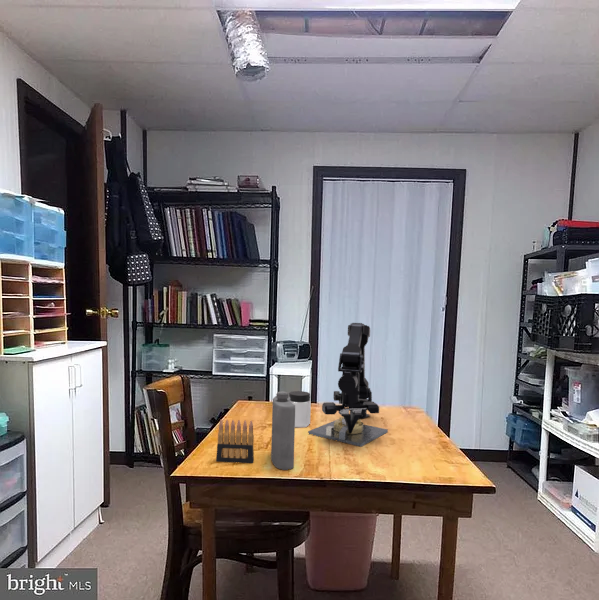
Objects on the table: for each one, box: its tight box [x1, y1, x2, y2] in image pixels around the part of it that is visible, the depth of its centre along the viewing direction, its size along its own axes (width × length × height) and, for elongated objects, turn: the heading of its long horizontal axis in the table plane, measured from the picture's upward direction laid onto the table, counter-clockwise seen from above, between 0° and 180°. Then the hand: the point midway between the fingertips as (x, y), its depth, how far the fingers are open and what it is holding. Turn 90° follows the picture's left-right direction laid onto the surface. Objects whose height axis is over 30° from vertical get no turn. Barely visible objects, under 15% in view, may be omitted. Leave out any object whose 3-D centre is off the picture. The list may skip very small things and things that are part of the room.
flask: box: [270, 390, 296, 471], centre depth 126 cm, size 15×6×20 cm, turn 9°
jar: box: [288, 390, 312, 428], centre depth 164 cm, size 9×8×12 cm
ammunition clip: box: [215, 419, 255, 464], centre depth 124 cm, size 11×2×12 cm, turn 88°
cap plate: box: [307, 418, 389, 448], centre depth 155 cm, size 21×21×5 cm
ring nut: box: [334, 416, 364, 440], centre depth 152 cm, size 17×10×3 cm, turn 163°
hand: (350, 433), depth 146 cm, fingers closed
